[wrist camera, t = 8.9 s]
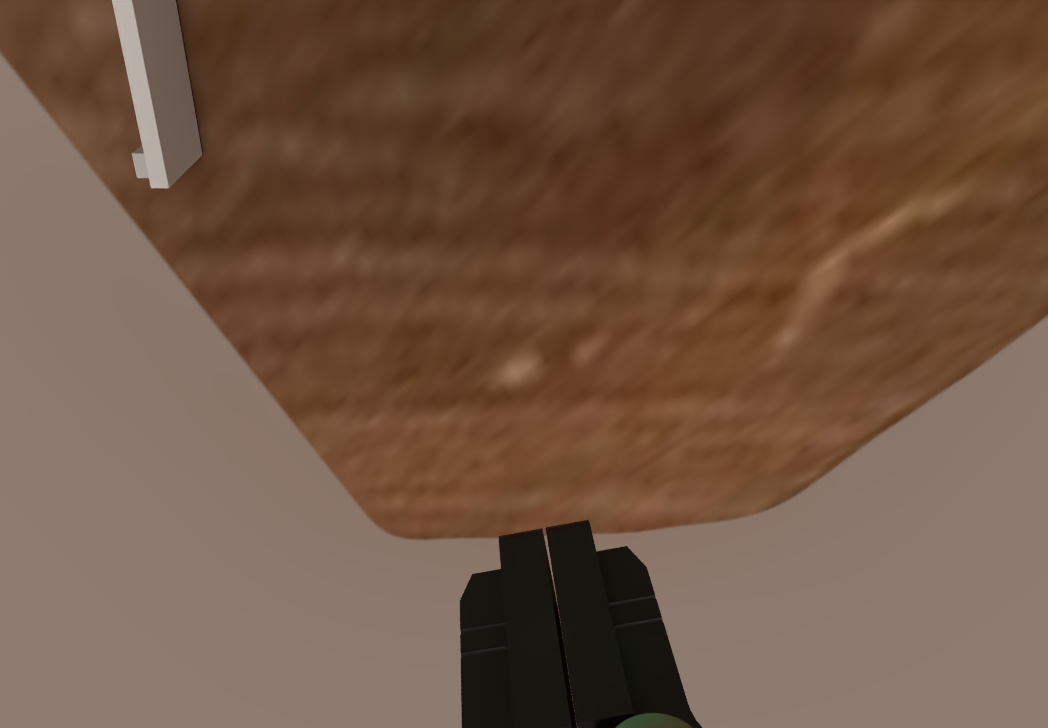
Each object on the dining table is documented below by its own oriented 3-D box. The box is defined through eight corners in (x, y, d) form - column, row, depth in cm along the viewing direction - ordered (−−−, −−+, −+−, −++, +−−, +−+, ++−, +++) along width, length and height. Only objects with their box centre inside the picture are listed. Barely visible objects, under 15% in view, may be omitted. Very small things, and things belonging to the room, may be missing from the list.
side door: (206, 156, 42) (173, 190, 37) (162, 156, 42) (122, 190, 37) (153, -155, 35) (104, -168, 30) (100, -157, 35) (41, -171, 30)
